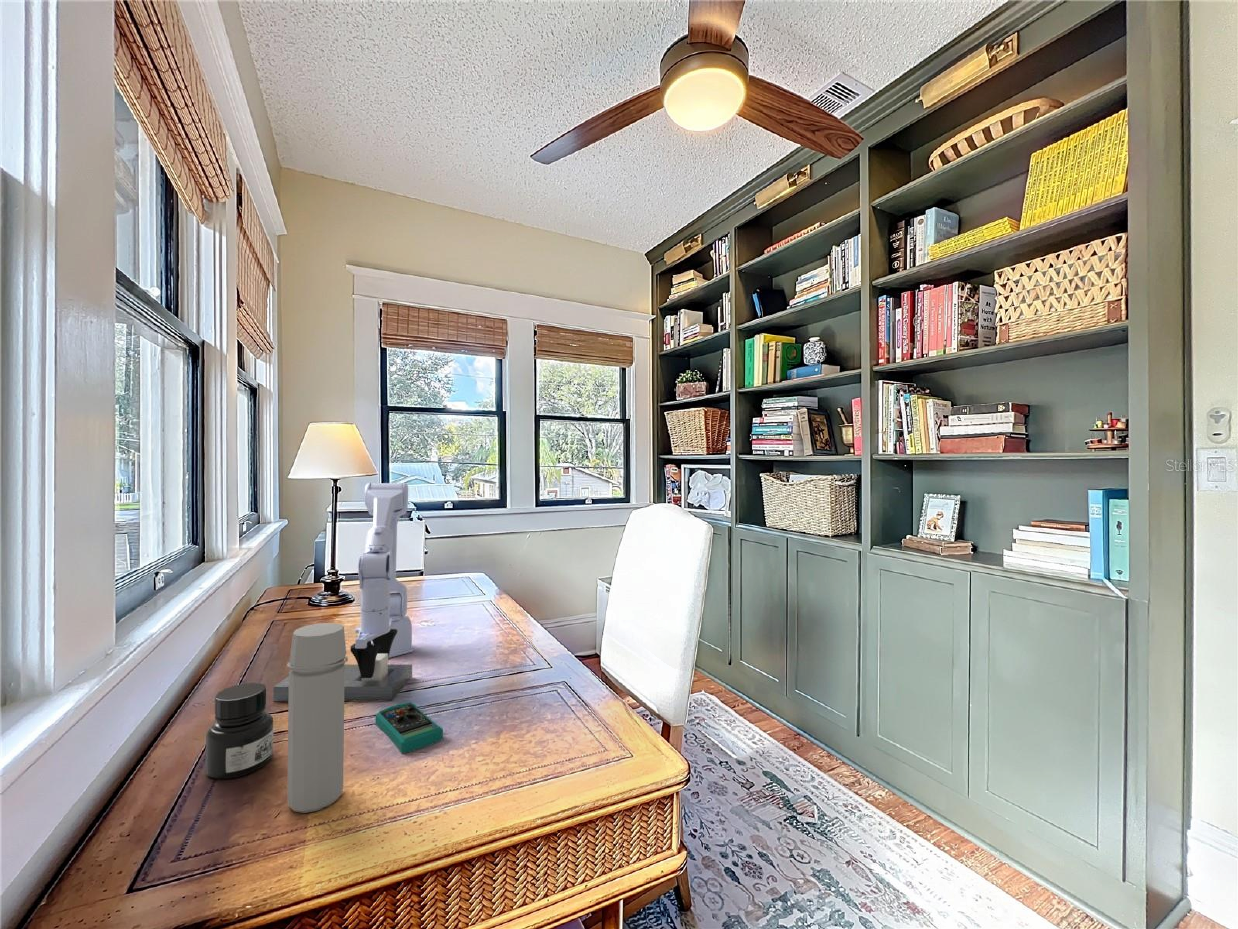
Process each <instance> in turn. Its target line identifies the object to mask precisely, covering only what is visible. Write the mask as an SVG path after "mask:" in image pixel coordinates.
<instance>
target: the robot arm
mask: <svg viewBox="0 0 1238 929" xmlns="http://www.w3.org/2000/svg"><path fill="white" fill-rule="evenodd" d="M408 503H409V485H408V484H407V483H406V482H402V483H401V482H400V483H399V482H398V483H397V482H394V483H393V482H389V483H388V482H383V483H382V482H381V483H379V482H375V483H374V482H373V483H372V482H367V484H366V485H365V487H364V504H365V506H366V510H367V512H368V514H369V515H370V516H373V519H372V520H373V521H372V522H373V523H372V527H371V528H370V529H369V530H367V532H366V534H365V535H366V536H365V540H364V541H365V542H364V548H363V554H362V556H361V555H360V556H359V557H358V563H357V573H358V580H359V589H360V626H359V627H356V628H355V629H354V633H355V634H357V633H358V635H357V638H355V643H353V644H352V645H351V646H350V647H349V648H350V653H351V654H352V655H353V656H354V659H355V661H356V663H357V665H358V667H359V671H360V674H361V678H372V677H373V673H374V667H375V660H376V656H377V654H388V659H390V658H394V657H397V656H400V655H405V654H408V653H412V652H414V649H413V647H412V645H413V643H412V641H413V636H412V635H413V626H412V622H411V620H412V619H410V617H409V616H408V615H407V612H408V588H407V587H406V585H405V584H404V583H402V582H401V581H399V580H398V579H397V577H396V576H397V544H398V523H399V519H400V517H402V516H404V515H406V514H407V511H408V508H409V507H408Z"/></svg>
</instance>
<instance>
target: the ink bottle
mask: <svg viewBox="0 0 1238 929" xmlns="http://www.w3.org/2000/svg"><path fill="white" fill-rule="evenodd" d="M266 705H267V686H266V684H264V683H260V682H251V683H250V682H247V683H241V684H235V685H232V686H229V687H226V688H224V689H222V690H220V691H218V692H217V693H216V694H215V695H214V715H215V716H214V720H215V721H214V723H213V724H211V725H210V727H209V728H208V729H207V731H206V735H205V772H206V776H208V777H210V778H214V779H221V780H222V779H234V778H237V777H243V776H244V775H245V776H246V775H248V774H250V773H253V772H255V771H257V770H259V769H260V768H262V767H263V766H265V765H266V764H267V763H268V762H270V761H271V759H272V757H273V754H274V718H273V716H272V715H271V714H270V713H269V712H266V711H265V710H266V708H267V707H266Z"/></svg>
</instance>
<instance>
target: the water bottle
mask: <svg viewBox="0 0 1238 929" xmlns="http://www.w3.org/2000/svg"><path fill="white" fill-rule="evenodd" d="M346 646H347V645H346V636H345V626H344V624H341V623H338V622H337V623H336V622H323V623H322V622H321V623H314V624H310V625H304V626H302V627H299V628H297V629H295V630H294V631H293V632H292V639H291V646H290V655H289V662H287V664H286V666H287V668H288V669H289V672H288V677H289V701H287V703H288V704H287V705H288V711H287V715H288V716H287V717H288V718H287V722H288V723H287V724H288V725H287V729H288V730H287V794H286V795H287V796H286V797H287V798H286V799H287V805H288V806H289V807H290V809H291V810H292V811H293V812H296V813H303V814H305V813H310V812H311V813H312V812H317V811H318V812H319V811H320V810H322V809H324V807H325V808H327V807H329V806H331V805H332V804H333V803H335V801H337V800H338V799H339V798H340V797H341V795H342V793H343V789H344V759H345V758H344V756H345V755H344V752H345V749H344V746H345V744H344V742H345V740H344V739H345V734H344V733H345V701H344V678H345V665H346V664H345V663H347V662H348V661H349V657H348V656H346V655H347V647H346Z"/></svg>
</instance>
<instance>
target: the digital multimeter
mask: <svg viewBox="0 0 1238 929" xmlns="http://www.w3.org/2000/svg"><path fill="white" fill-rule="evenodd" d="M375 725H376V726H377V727H378V728H379V729H380V730H382V732H384V734H385V735H387V736H388V738H389V737H390V740H391V741H392V742H393V743H394V745H395V746H396V748H397V749H398V751H399V752H401V754H406V753H409V752H410V751H411V752H413V750H414V751H417V750H420V749H423V748H426V747H428V745H429V746H431V745H433V744H432V743H434V744H436V743H438V742H437V741H439V740H441V739H442V740H443V737H444V733H443V732H444V729H443V728H442V727H441V726H440V725H438V724H437V723H436V722H435V721H433V719H431V718H430V717H428V716H427V715H426V714H425V713H424V712H423V711H422V710H421V709H420V708H419V707H418V706H417V705H416V704H415V703H413V702H406V703H400V704H396V705H392V706H389V707H387V708H384V709H382V710H379V711H378V712H377V713H376V714H375ZM442 740H441V741H442ZM439 742H440V741H439ZM430 744H431V745H430ZM425 746H426V747H425Z"/></svg>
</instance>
